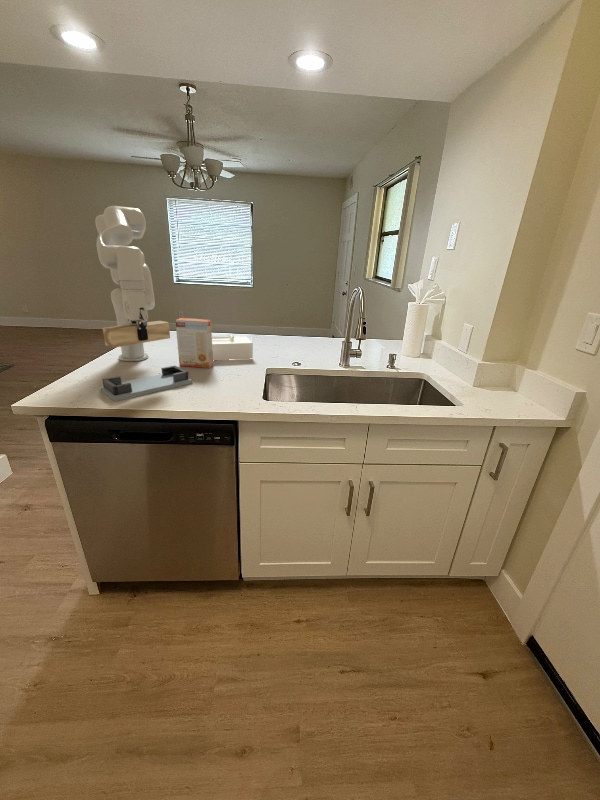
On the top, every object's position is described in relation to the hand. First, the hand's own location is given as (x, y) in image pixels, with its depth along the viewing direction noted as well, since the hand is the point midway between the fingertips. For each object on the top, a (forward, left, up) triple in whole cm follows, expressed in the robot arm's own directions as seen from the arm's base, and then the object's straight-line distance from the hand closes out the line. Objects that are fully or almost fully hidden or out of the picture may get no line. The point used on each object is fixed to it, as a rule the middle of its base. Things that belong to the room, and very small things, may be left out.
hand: (139, 338), depth 122 cm
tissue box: (-16, +47, -19) cm, 53 cm away
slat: (0, 0, -1) cm, 1 cm away
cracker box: (-11, +28, -18) cm, 35 cm away
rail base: (+2, 0, -18) cm, 18 cm away
